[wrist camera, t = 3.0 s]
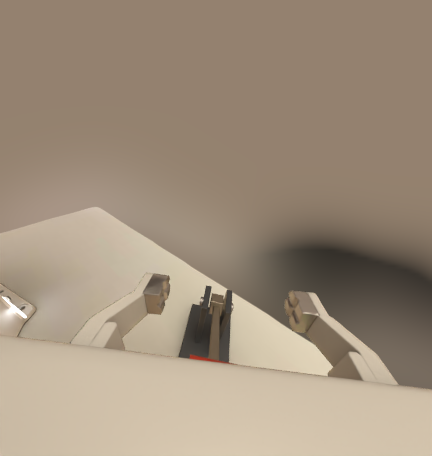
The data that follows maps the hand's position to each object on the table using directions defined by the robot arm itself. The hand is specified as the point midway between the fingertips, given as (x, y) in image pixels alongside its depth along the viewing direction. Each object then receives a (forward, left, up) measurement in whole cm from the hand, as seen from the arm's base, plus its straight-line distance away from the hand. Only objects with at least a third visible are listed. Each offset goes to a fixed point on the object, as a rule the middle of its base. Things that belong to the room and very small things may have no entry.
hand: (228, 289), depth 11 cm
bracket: (-3, +9, -31) cm, 33 cm away
